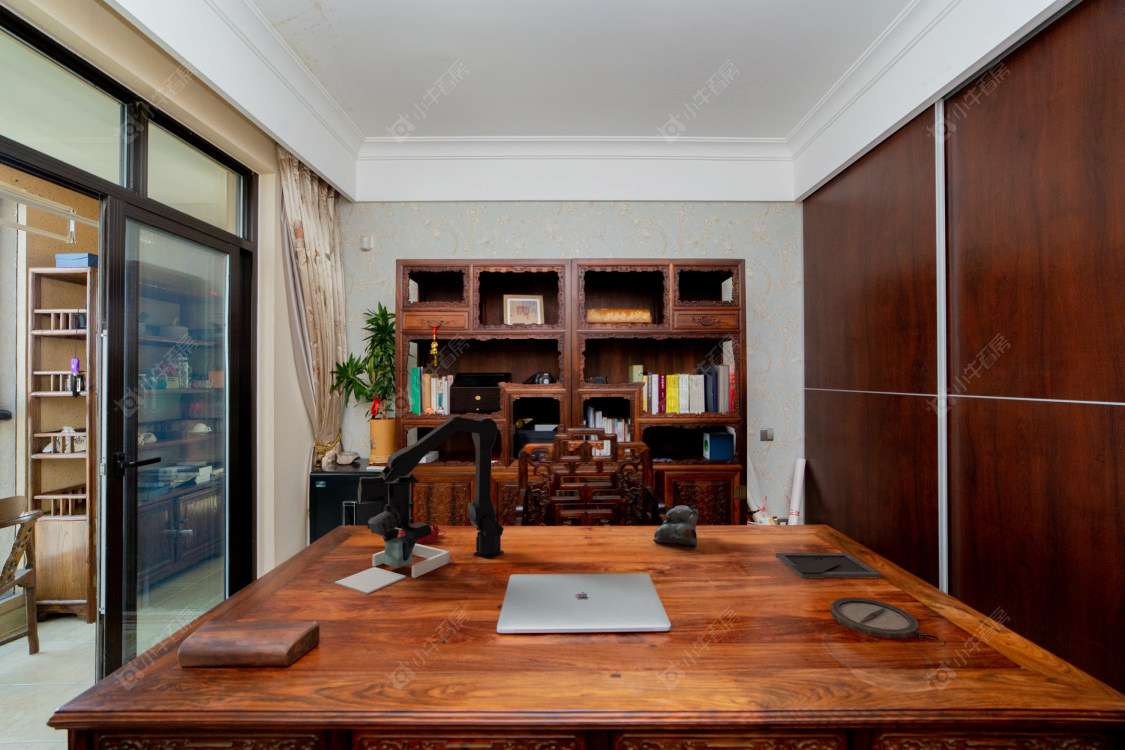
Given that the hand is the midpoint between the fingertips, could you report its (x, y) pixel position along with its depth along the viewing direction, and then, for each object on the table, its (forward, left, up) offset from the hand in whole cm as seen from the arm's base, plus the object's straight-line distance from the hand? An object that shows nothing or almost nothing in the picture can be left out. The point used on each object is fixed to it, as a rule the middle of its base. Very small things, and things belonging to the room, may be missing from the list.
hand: (398, 558), depth 141 cm
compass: (-110, -32, -4) cm, 115 cm away
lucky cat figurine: (-56, -60, -3) cm, 83 cm away
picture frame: (-98, -63, -4) cm, 117 cm away
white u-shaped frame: (0, -4, -3) cm, 5 cm away
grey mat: (0, +9, -3) cm, 10 cm away
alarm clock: (+13, -21, -3) cm, 25 cm away
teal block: (0, 0, -1) cm, 1 cm away
